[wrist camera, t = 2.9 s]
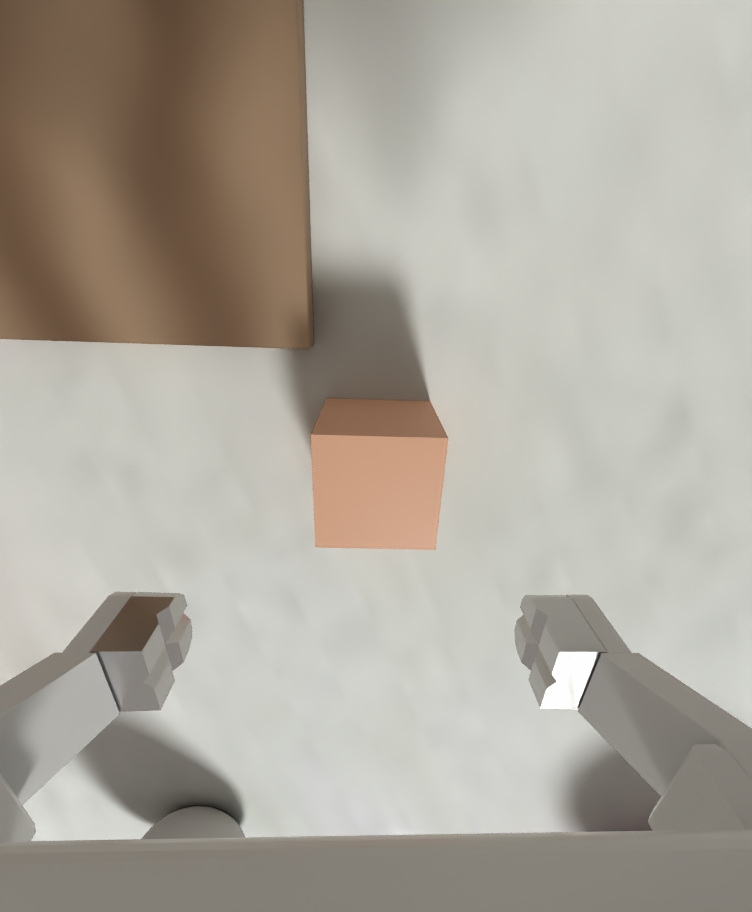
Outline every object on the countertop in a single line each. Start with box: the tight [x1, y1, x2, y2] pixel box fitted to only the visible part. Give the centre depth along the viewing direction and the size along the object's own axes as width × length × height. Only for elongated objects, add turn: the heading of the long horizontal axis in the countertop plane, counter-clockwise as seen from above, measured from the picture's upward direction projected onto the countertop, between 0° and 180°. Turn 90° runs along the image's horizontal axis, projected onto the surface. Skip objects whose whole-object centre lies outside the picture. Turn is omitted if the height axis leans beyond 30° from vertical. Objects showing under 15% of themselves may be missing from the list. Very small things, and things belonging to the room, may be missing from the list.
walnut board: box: [0, 0, 314, 349], centre depth 13 cm, size 20×16×2 cm
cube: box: [311, 398, 448, 550], centre depth 17 cm, size 5×5×5 cm
